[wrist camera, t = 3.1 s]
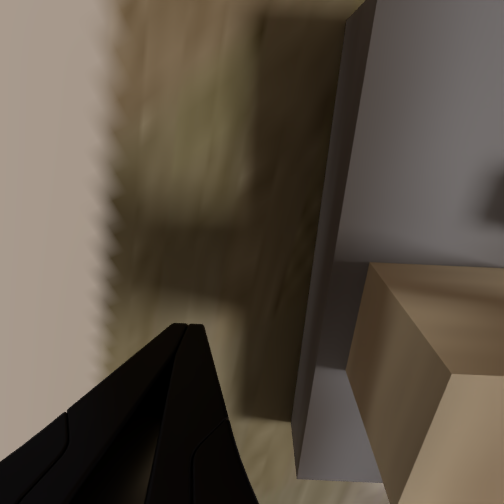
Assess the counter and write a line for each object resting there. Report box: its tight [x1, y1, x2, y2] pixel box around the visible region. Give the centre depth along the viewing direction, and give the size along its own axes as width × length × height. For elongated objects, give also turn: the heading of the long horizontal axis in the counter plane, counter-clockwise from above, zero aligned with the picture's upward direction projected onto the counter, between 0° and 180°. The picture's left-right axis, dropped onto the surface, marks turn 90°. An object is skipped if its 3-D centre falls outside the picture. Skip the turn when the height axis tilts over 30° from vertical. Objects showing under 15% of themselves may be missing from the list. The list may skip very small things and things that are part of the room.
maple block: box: [346, 262, 504, 504], centre depth 8 cm, size 4×4×4 cm
